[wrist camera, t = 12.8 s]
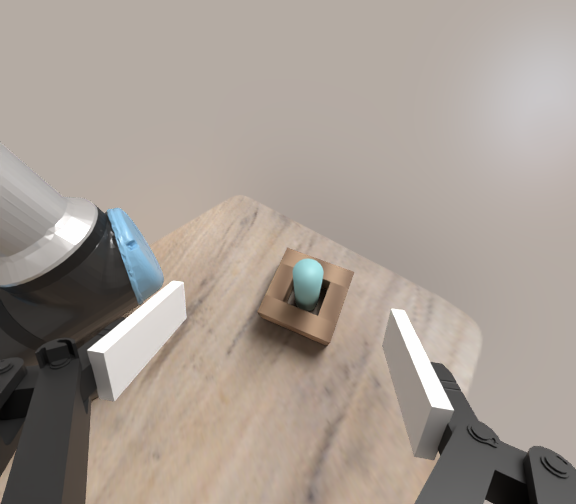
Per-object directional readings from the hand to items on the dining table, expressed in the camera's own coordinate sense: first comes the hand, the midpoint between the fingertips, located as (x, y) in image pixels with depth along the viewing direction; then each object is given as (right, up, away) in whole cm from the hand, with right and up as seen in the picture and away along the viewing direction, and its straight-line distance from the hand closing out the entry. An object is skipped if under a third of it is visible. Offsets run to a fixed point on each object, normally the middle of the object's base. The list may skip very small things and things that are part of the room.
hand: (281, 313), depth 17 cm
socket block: (+4, -5, +30) cm, 31 cm away
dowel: (+4, -5, +30) cm, 31 cm away
